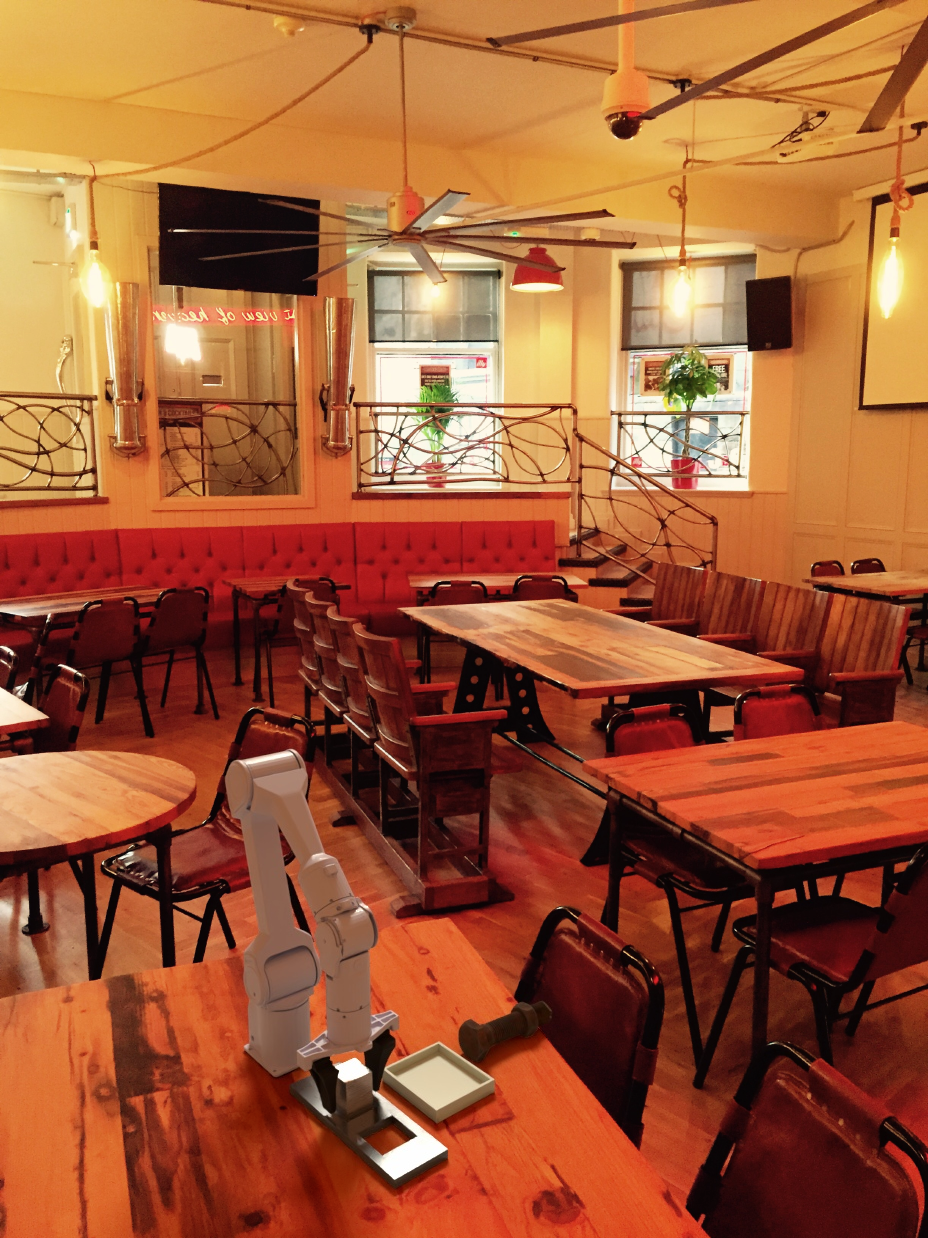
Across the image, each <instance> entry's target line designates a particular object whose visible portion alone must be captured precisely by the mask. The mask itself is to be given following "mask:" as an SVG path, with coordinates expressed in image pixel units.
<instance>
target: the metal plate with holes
mask: <svg viewBox="0 0 928 1238" xmlns="http://www.w3.org/2000/svg"><path fill="white" fill-rule="evenodd" d="M340 1064H342V1062H341V1061H338V1062H336V1063H334V1064H333V1065H334V1066H335V1067H336V1066H338V1065H340ZM289 1093H290V1095H291V1096H293V1097H294V1098H295V1099H296V1100H297V1101H298V1102H299V1103H300V1104H302V1105H303V1106H304V1108H305V1109H307V1110H308V1112H310V1113H311V1114H312V1115H314V1117H316V1119H317V1120H319V1121H320V1122H321V1123H322V1124H323V1125H324V1126H325V1127H326V1128H328V1129H329V1130H330V1131H331V1132H332V1133H333V1134H334V1135H335V1136H336V1137H338V1138H339V1139H340V1140H341V1141H342V1142H343V1144H345V1145H346V1146H348V1147H347V1148H349V1149H350V1150H352V1151H353V1152H354V1154H356V1155H357V1156H358V1157H359V1158H360V1159H362V1161H364V1163H365V1164H366V1165H368V1166H369V1167H370V1168H371V1170H373V1171H375V1173H377V1174H378V1175H379V1176H380V1177H381V1178H382V1179H384V1181H386V1183H387V1184H389V1186H391V1187H392V1188H393V1189H394V1190H396V1189H398V1188H399V1187H401V1186H403V1185H404V1184H406V1183H408V1182H409V1181H411V1180H413V1179H415V1178H417V1177H418V1176H420V1175H422V1174H424V1173H425V1172H427V1171H429V1170H430V1169H432V1168H433V1167H435V1166H438V1164H441V1163H443V1162H444V1161H446V1160H447V1159H449V1149H448V1148H447V1147H446V1146H444V1145H443V1144H442V1143H441V1142H440V1141H439V1140H438V1139H436V1138H435V1137H434V1136H432V1135H431V1134H430V1133H429V1132H427V1131H426V1130H425V1129H424V1128H422V1127H421V1125H419V1124H418V1123H416V1122H415V1121H414V1120H412V1118H411V1117H409V1116H408V1115H406V1114H405V1113H404V1112H403V1111H401V1109H399V1108H398V1107H396V1106H395V1105H394V1104H393V1103H391V1101H389V1100H388V1099H387V1098H385V1097H384V1096H383V1095H382V1094H380V1093H379V1091H377V1092H375V1091H373V1109H372V1110H370V1111H368V1112H367V1113H365V1114H363V1115H361V1116H359V1117H357V1118H355V1119H353V1120H351V1121H349V1122H347V1123H345V1122H344V1121H343V1120H342V1119H340V1118H339V1117H338V1116H337V1115H336V1114H335V1113H332V1114H330V1113H329V1112H328V1111H326V1110H325V1109H324V1108H323V1106H322V1102H321V1098H320V1095H319V1092H318V1089H317V1086H316V1084H315V1082H314V1079H313V1077H312V1076H311V1074H310V1075H308V1076H305V1077H304V1078H301V1079H299V1080H297V1081H295V1082H292V1083H290V1084H289ZM390 1125H394V1126H395V1127H396V1128H398V1130H399V1131H401V1132H402V1134H404V1135H405V1136H407V1137H408V1138H409V1139H410V1140H408V1141H407V1142H405V1143H403V1144H401V1145H399V1146H397V1147H395V1148H393V1149H391V1150H390V1151H388V1152H386V1153H384V1154H381V1153H380V1152H379V1151H378V1150H376V1149H375V1148H374V1147H373V1146H372V1145H371V1144H370V1143H368V1141H366V1140H365V1139H366V1138H368V1137H369V1136H372V1135H374V1134H375V1133H378V1132H379V1131H381V1130H383V1129H385V1128H387V1127H389V1126H390Z"/></svg>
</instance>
